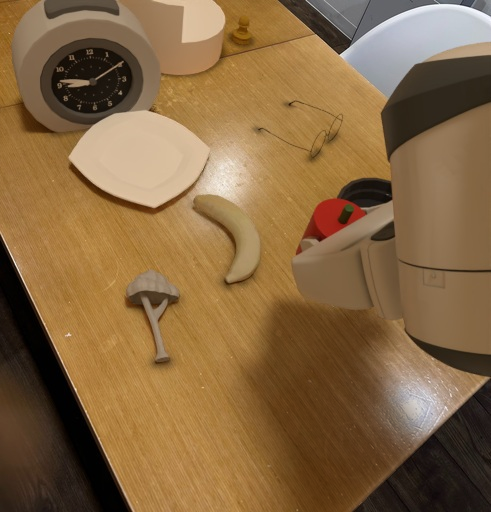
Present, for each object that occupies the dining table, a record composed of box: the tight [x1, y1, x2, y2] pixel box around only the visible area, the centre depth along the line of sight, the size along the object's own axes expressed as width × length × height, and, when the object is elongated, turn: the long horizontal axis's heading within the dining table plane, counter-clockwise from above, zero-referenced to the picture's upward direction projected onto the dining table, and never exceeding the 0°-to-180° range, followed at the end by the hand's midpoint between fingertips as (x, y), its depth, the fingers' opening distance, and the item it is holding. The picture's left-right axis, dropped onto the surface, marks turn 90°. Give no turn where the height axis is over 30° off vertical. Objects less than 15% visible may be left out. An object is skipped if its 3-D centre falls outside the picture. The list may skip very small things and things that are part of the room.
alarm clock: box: [10, 0, 162, 133], centre depth 76 cm, size 21×8×20 cm, turn 112°
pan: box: [336, 177, 393, 208], centre depth 77 cm, size 15×15×4 cm
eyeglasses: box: [257, 100, 344, 159], centre depth 88 cm, size 11×13×5 cm
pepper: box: [295, 197, 366, 256], centre depth 52 cm, size 6×6×9 cm
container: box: [118, 0, 226, 76], centre depth 94 cm, size 20×20×13 cm
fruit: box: [193, 193, 262, 284], centre depth 72 cm, size 7×15×3 cm, turn 22°
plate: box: [67, 110, 211, 209], centre depth 78 cm, size 19×19×2 cm
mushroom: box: [125, 269, 181, 363], centre depth 62 cm, size 7×5×12 cm
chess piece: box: [231, 15, 252, 46], centre depth 103 cm, size 4×4×5 cm
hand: (330, 231), depth 52 cm, fingers closed on pepper, 6 cm apart
